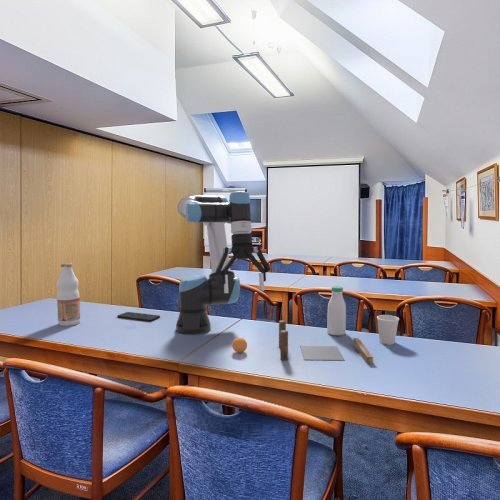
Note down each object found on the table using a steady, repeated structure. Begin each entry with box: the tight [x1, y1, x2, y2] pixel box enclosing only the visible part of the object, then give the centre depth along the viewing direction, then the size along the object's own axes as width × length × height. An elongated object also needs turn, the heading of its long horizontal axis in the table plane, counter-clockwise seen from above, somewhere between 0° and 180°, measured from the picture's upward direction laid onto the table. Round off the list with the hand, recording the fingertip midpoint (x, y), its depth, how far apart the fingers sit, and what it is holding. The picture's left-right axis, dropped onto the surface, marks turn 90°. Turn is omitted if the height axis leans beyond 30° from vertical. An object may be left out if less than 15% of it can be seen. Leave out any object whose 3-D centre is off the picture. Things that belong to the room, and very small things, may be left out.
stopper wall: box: [352, 337, 374, 365], centre depth 143 cm, size 2×20×2 cm, turn 178°
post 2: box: [279, 329, 289, 361], centre depth 137 cm, size 3×3×10 cm
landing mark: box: [299, 345, 346, 362], centre depth 144 cm, size 14×14×1 cm
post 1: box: [278, 320, 287, 349], centre depth 150 cm, size 3×3×10 cm
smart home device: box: [116, 311, 161, 323], centre depth 192 cm, size 8×2×20 cm
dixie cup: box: [376, 314, 400, 346], centre depth 155 cm, size 8×8×10 cm
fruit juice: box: [56, 262, 81, 327], centre depth 180 cm, size 9×9×28 cm
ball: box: [231, 336, 248, 354], centre depth 144 cm, size 6×6×6 cm
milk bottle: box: [326, 285, 347, 336], centre depth 166 cm, size 8×8×20 cm
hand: (244, 292), depth 142 cm, fingers open, 13 cm apart
